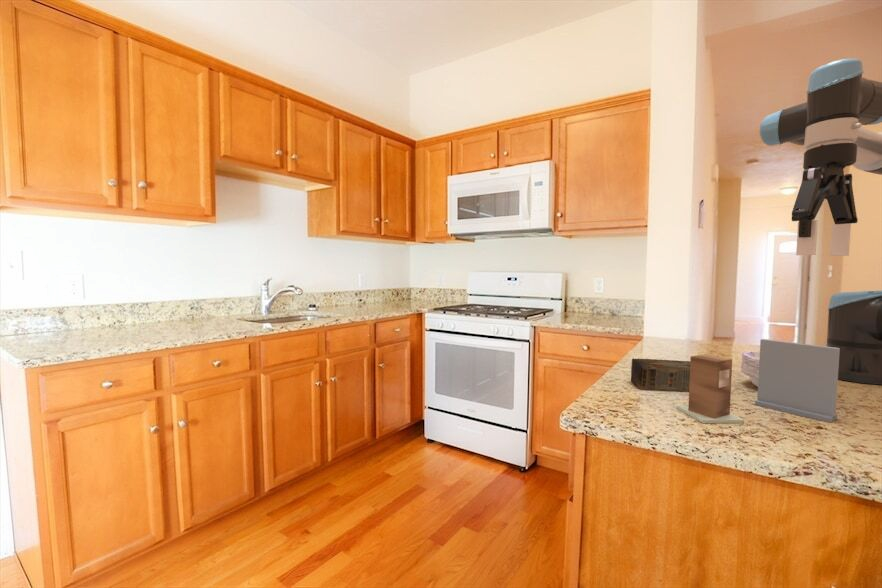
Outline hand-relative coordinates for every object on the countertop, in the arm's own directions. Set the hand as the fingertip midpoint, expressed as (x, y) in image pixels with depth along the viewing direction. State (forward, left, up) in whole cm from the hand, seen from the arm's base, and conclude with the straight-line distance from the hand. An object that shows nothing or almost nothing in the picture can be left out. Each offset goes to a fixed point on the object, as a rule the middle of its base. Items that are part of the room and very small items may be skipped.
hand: (823, 255), depth 80 cm
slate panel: (+4, 0, -32) cm, 32 cm away
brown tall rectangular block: (+23, +2, -31) cm, 39 cm away
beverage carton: (+18, -17, -32) cm, 41 cm away
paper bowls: (-6, -15, -32) cm, 36 cm away
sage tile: (+23, +2, -32) cm, 39 cm away
